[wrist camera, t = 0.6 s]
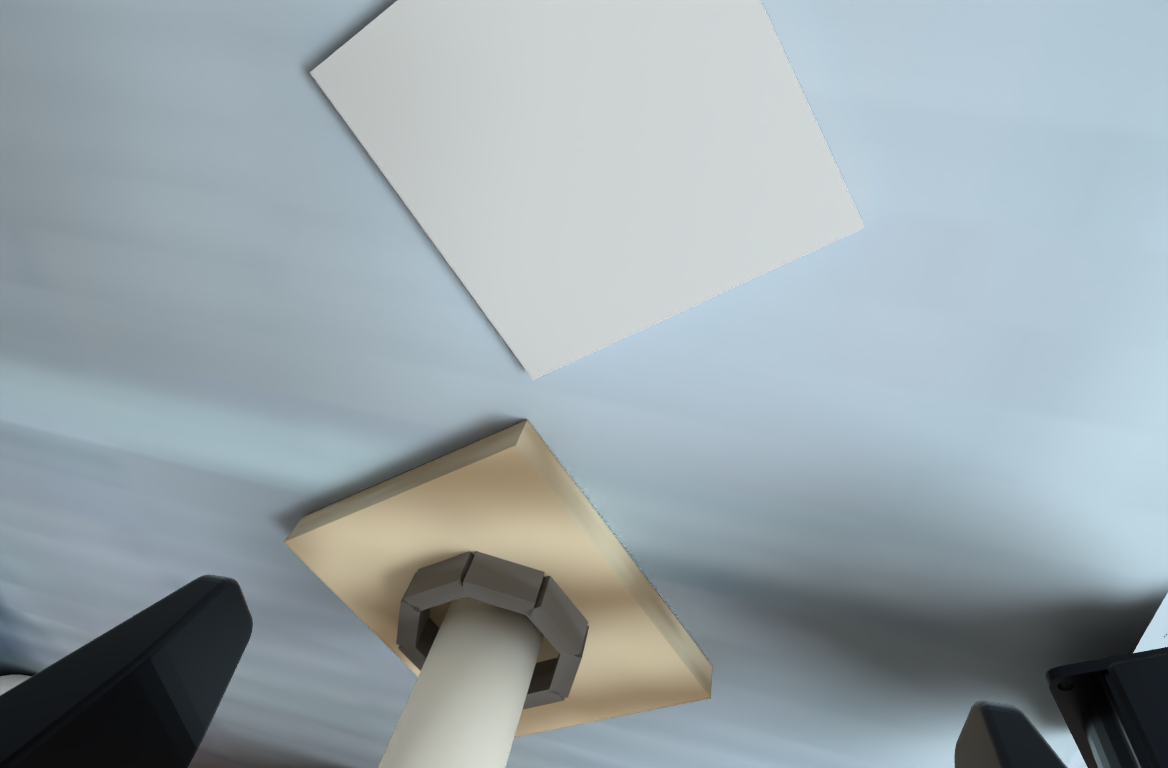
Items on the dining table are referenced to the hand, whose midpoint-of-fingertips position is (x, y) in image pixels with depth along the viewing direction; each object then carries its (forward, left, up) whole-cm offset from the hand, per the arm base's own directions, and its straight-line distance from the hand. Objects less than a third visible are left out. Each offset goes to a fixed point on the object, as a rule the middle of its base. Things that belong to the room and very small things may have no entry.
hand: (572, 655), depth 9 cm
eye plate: (-11, +14, -15) cm, 23 cm away
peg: (-11, +14, -13) cm, 22 cm away
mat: (+3, +1, -15) cm, 15 cm away
